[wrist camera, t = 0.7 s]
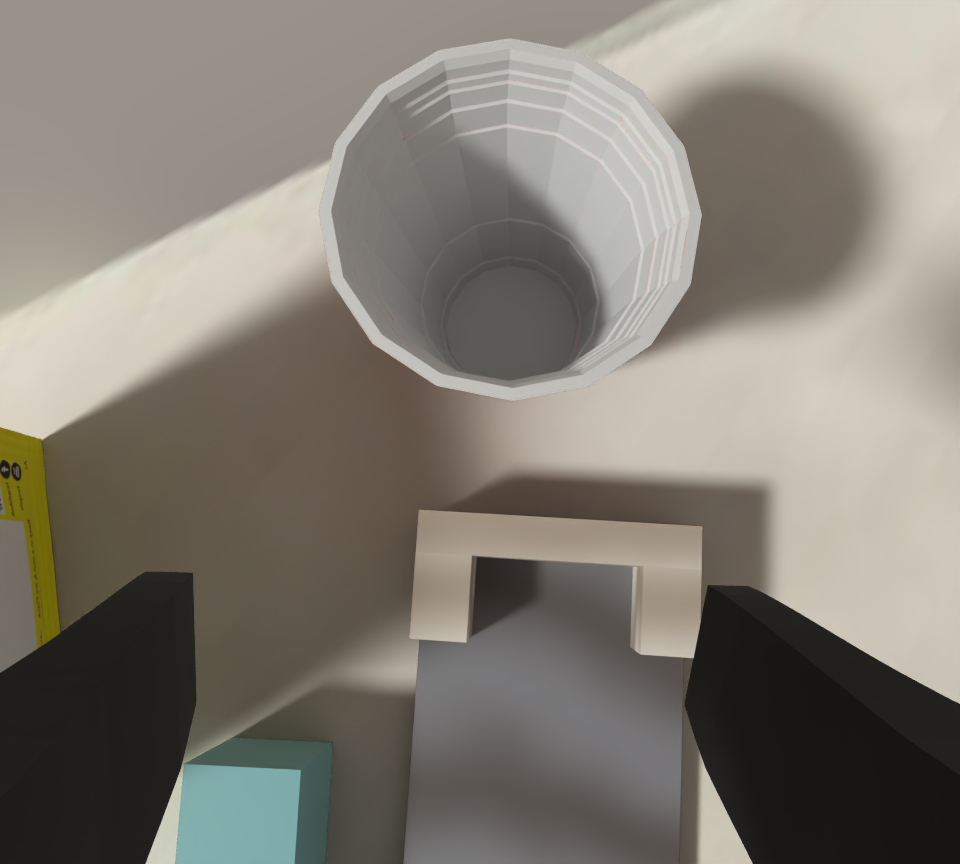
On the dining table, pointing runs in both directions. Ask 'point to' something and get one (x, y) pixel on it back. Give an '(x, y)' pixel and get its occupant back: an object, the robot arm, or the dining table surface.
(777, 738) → the robot arm
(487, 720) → the cradle
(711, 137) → the dining table surface
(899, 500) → the dining table surface
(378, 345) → the plastic cup
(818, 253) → the dining table surface
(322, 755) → the slat
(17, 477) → the food package
